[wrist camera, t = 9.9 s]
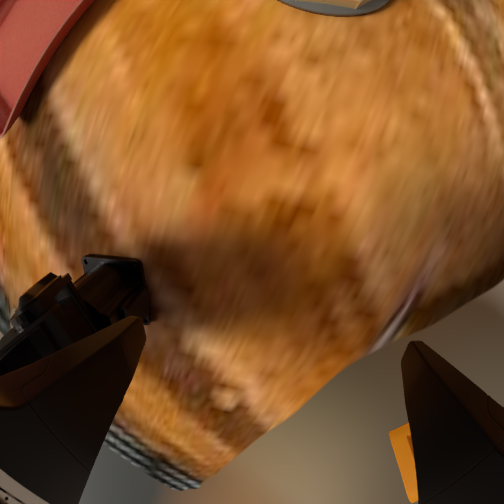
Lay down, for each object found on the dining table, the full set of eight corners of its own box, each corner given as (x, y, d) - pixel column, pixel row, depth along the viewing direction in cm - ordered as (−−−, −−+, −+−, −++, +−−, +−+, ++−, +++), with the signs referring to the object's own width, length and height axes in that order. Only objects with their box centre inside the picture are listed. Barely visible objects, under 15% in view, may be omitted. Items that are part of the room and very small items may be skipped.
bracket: (444, 427, 30) (463, 484, 19) (405, 447, 32) (418, 505, 21) (434, 403, 27) (459, 473, 16) (387, 427, 30) (403, 499, 18)
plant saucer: (22, 138, 19) (-1, 141, 16) (-22, 71, 16) (-39, 72, 13) (127, -15, 13) (109, -29, 10) (54, -44, 10) (39, -52, 7)
